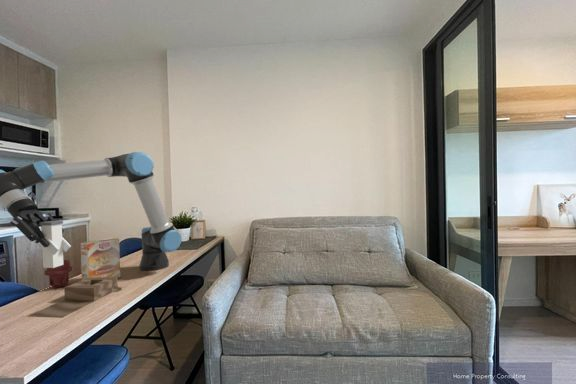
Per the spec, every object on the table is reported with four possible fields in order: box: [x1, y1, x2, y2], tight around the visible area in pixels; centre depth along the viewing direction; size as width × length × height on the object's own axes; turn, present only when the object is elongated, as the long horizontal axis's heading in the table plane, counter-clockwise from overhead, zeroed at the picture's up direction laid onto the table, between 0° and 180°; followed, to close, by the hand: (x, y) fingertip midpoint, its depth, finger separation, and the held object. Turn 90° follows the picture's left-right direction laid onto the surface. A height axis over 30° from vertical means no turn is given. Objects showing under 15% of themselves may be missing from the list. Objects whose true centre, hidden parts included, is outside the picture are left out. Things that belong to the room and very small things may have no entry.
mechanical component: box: [44, 258, 73, 290], centre depth 134 cm, size 12×10×10 cm
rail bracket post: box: [39, 220, 64, 269], centre depth 104 cm, size 5×5×16 cm
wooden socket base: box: [26, 277, 123, 319], centre depth 114 cm, size 29×14×6 cm, turn 173°
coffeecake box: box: [80, 237, 121, 281], centre depth 143 cm, size 15×7×20 cm, turn 150°
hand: (62, 250), depth 103 cm, fingers closed on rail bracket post, 4 cm apart
